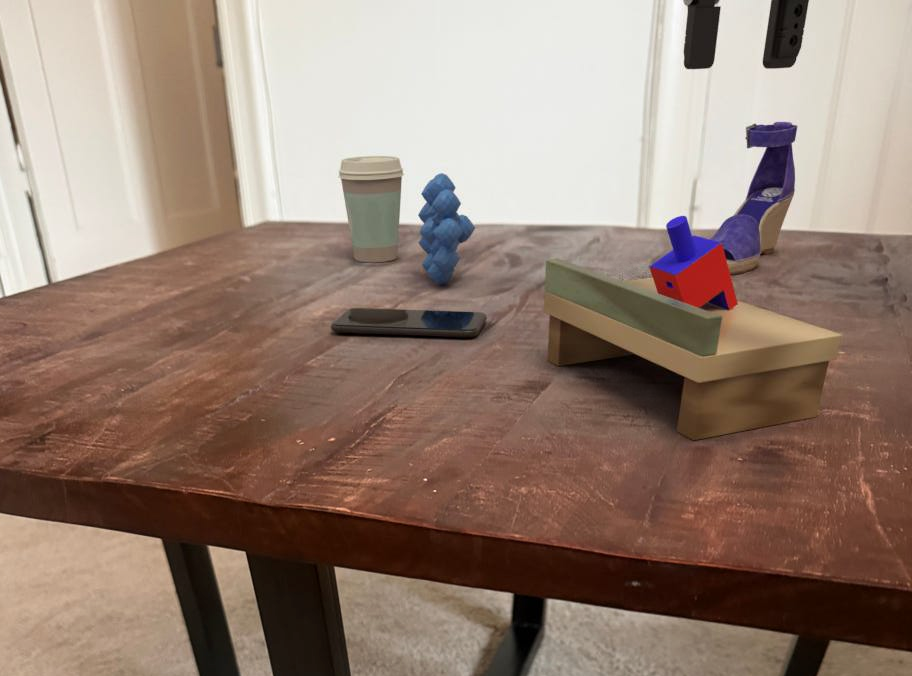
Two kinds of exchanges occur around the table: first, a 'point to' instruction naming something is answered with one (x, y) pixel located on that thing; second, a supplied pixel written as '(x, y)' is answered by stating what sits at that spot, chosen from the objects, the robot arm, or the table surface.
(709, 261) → the toy building block
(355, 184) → the coffee cup
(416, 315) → the smartphone
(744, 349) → the shoe shelf
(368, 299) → the table surface
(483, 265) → the table surface
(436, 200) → the grapes
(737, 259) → the sandal
